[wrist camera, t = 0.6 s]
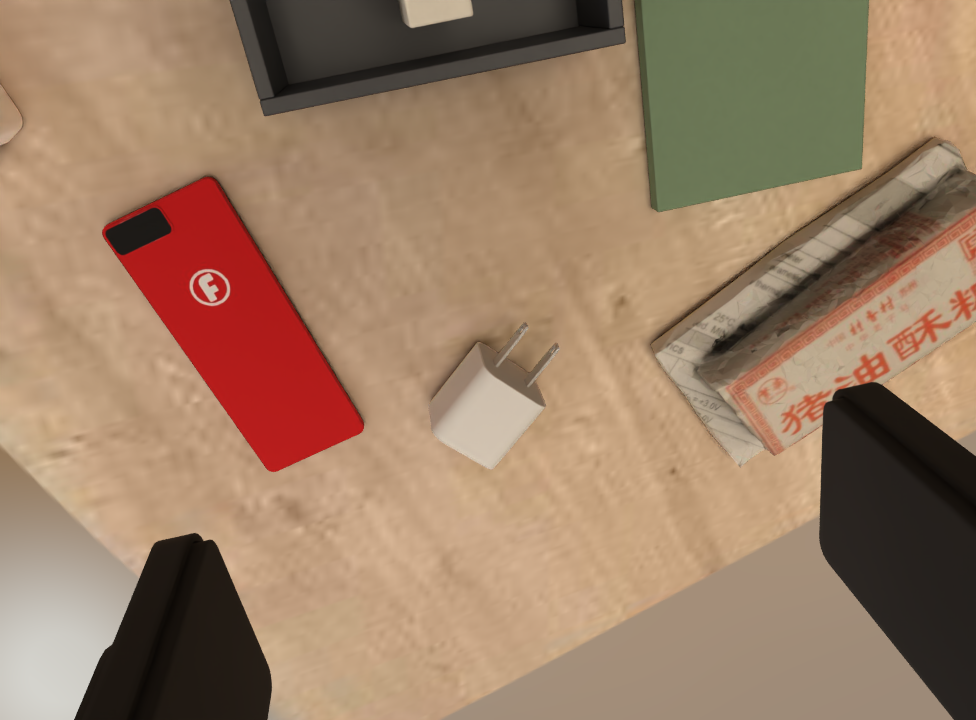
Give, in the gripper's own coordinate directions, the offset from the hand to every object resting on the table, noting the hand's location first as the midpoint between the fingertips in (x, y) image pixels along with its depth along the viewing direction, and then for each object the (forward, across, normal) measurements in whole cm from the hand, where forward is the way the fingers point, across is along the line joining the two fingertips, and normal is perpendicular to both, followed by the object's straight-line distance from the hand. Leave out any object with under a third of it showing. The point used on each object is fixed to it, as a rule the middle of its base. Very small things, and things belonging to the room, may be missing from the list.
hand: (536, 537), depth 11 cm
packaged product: (+27, -20, +12) cm, 36 cm away
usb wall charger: (+27, -1, +11) cm, 30 cm away
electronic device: (+27, +11, +6) cm, 30 cm away
